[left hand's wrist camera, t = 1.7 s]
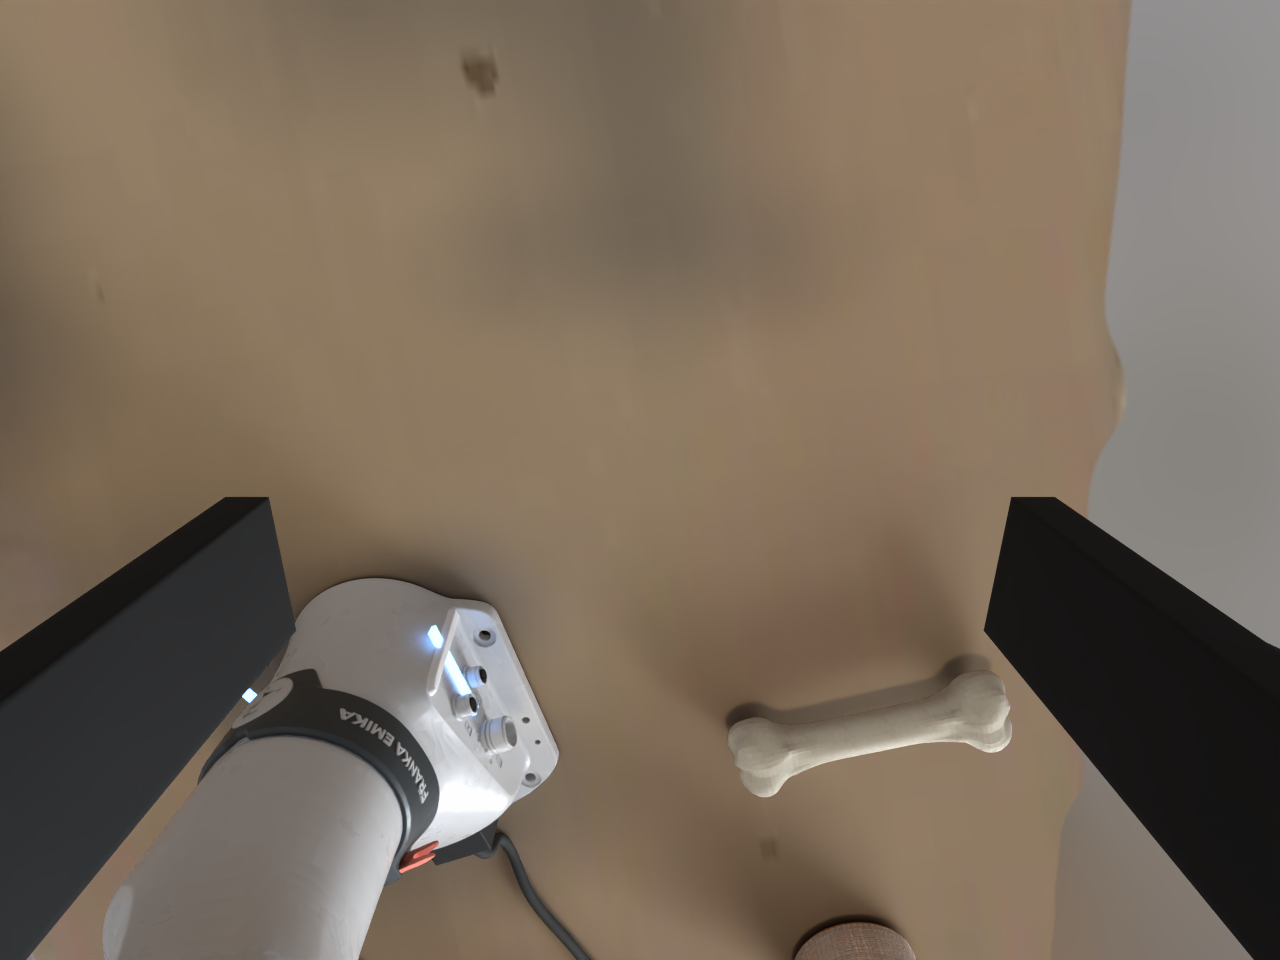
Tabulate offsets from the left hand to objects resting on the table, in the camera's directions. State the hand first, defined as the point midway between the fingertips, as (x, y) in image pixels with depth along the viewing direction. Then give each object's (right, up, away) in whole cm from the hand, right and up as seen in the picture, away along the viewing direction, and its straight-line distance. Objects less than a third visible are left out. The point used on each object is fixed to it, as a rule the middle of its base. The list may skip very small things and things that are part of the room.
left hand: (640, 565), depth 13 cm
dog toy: (+17, -16, +41) cm, 47 cm away
